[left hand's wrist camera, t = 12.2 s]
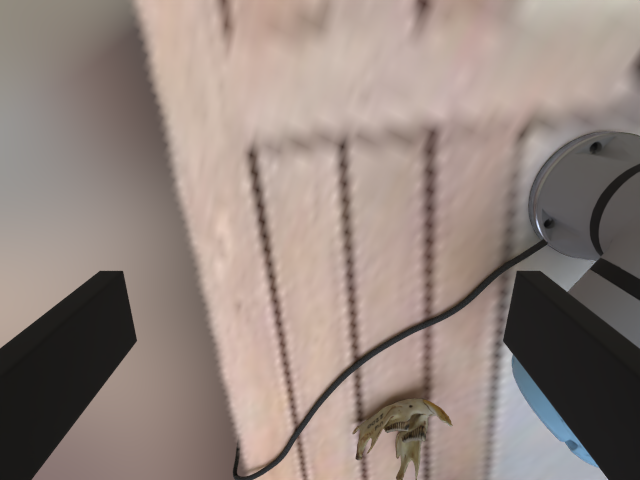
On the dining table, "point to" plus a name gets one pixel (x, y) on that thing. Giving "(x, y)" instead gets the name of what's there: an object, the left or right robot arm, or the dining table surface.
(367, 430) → the jawbone
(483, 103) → the dining table surface
